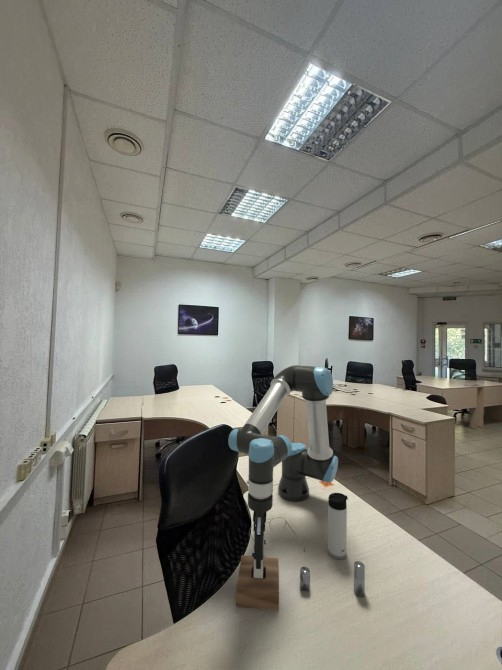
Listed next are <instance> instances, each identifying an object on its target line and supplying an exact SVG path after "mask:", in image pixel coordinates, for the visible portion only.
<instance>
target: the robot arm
mask: <svg viewBox="0 0 502 670" xmlns="http://www.w3.org/2000/svg"><path fill="white" fill-rule="evenodd" d="M332 375H333V374H332V372H331V371H330V370H329V369H328V368H327V367H321V366H309V365H297V364H296V365H290V366H288V367H286V368H284V369H282V370H280V372H278V373H277V374H276V375H275V376H274V377H273V379H272V380H271V381H270V385H269V386H270V387H269V388H268V390H267V392H266V393H265V394H264V396H263V398H262V399H261V400H260V402H259V403H258V404H257V405H256V408H255V409H253V411H252V413H251V415H250V416H249V418H247V421H246V422H245V423H244V425H243V426H242V428H241V429H240V428H235V429H232V430H231V431H230V433H229V435H228V440H227V441H228V443H227V444H228V446H229V448H230V450H232V451H235V452H237V453H239V454H245V455H248V480H246V482H245V483H246V484H247V488H248V489H247V490H248V492H247V507H248V508H249V510H251V511H252V512H253V514H252V522H253V535H254V537H253V539H254V540H253V544H254V545H253V546H254V547H253V552H252V553H251V556H252V557H254V578H262V579H263V533H264V534H265V532H266V524H267V512H269V511H271V509H272V508H273V504H274V503H273V500H274V499H273V498H274V496H273V493H274V468H275V467H277V466H278V465H279V464H281V477H280V480H279V483H278V485H277V486H278V487H277V492H279V493H278V495H279V494H280V495H281V496H282V497H281V496H280V495H279V496H280V497H281V498H282V499H284V498H285V499H284V500H287V501H290V502H300V501H304V500H307V499H308V498H309V497H310V487H309V485H308V481H307V477H308V478H311V479H315V480H318V481H321V482H325V483H330V484H331V483H332V482H333V481H334V480H335V477H336V475H337V471H338V466H339V458H338V456H336V455H334V450H333V449H332V448H331V447H330V442H329V426H328V412H327V400H328V399H329V398H330V395H332V393H333V390H334V380H333V376H332ZM292 392H299V393H301V396H302V399H303V400H304V401H305V402H306V403H305V404H306V417H307V425H308V437H309V447H308V448H307V446H306V444H305V443H302V442H291V440H290V439H289V438H288V437H286V436H285V435H282V434H279V435H276V436H274V437H273V436H269V435H266V434H265V435H264V432H265V431H266V429H267V427H268V425H269V424H270V423H271V421H272V419H273V417H274V415H275V414H276V413H277V411H278V409H279V407H280V406H281V405H282V403H283V401H284V400H285V398H286V397H288V396H289V395H290V394H291V393H292ZM264 545H267V540H266V539H264Z"/></svg>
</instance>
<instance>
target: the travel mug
mask: <svg viewBox="0 0 502 670" xmlns="http://www.w3.org/2000/svg"><path fill="white" fill-rule="evenodd" d="M327 499H328V503H327V505H328V506H327V507H328V508H327V552H328V554H329V555H330V556H331V557H332V558H334V559H337V560H343V559H345V558H346V557H347V532H348V531H347V524H348V523H347V520H348V519H347V514H348V512H347V511H348V510H347V509H348V507H347V505H348V504H347V501H348V499H349V498H348V496H347V495H345V494H343V493H341V492H332V493H330V494H328V498H327Z"/></svg>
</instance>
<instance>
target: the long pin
mask: <svg viewBox="0 0 502 670" xmlns="http://www.w3.org/2000/svg"><path fill="white" fill-rule="evenodd" d="M264 540H265V532H264V533H263V577H264V557H265V544H264ZM261 579H262V578H261Z"/></svg>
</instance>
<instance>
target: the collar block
mask: <svg viewBox="0 0 502 670" xmlns="http://www.w3.org/2000/svg"><path fill="white" fill-rule="evenodd" d="M279 567H280V565H279V557H269V556H264V577H263V579H261V578H254V557H252V555H245V554H244V555H243V554H241V555H240V563H239V568H238V575H237V583H236V587H235V588H236V589H235V591H236V592H235V593H236V594H235V600H236V601H235V606H236V607H237V608H238V607H239V608H248V609H259V610H269V611H280V573H279V572H280V568H279Z"/></svg>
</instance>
